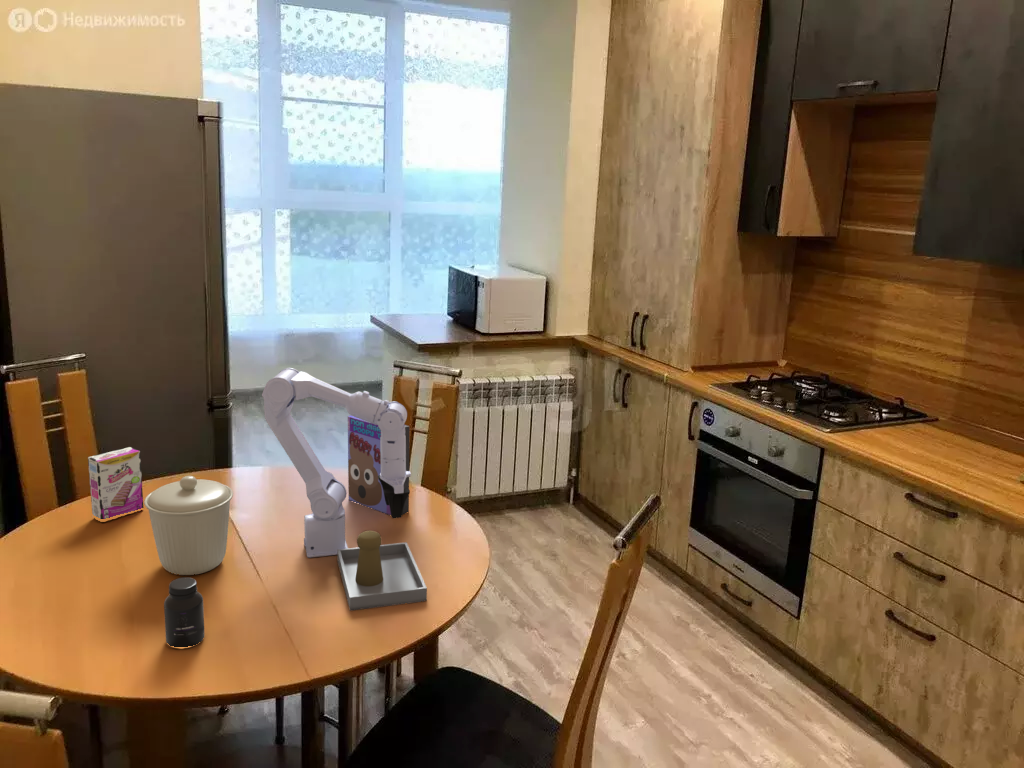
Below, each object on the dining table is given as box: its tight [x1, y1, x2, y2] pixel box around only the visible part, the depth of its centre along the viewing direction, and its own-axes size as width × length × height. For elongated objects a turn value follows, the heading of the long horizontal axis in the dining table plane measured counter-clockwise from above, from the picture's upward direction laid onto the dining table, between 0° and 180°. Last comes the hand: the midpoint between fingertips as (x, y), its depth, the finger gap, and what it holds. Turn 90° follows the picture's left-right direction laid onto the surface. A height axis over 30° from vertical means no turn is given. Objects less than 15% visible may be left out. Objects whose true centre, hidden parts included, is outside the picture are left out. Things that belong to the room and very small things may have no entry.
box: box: [336, 542, 428, 612], centre depth 178 cm, size 16×22×3 cm
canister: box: [143, 475, 234, 576], centre depth 179 cm, size 18×18×21 cm
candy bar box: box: [87, 446, 145, 519], centre depth 203 cm, size 11×5×16 cm, turn 144°
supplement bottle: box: [163, 576, 206, 647], centre depth 152 cm, size 7×7×12 cm
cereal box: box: [347, 415, 410, 516], centre depth 214 cm, size 17×5×24 cm, turn 55°
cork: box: [355, 530, 383, 586], centre depth 176 cm, size 6×6×11 cm
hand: (393, 510), depth 189 cm, fingers open, 7 cm apart
